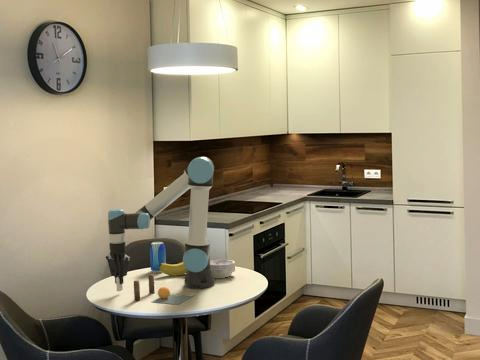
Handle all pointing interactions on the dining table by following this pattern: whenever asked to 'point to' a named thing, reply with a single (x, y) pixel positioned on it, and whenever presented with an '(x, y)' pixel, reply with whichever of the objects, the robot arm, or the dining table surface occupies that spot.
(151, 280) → the post
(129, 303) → the dining table surface
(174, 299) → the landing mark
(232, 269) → the paper bowls
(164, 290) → the ball
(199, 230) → the robot arm
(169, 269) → the banana
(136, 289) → the post
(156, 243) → the beer can
